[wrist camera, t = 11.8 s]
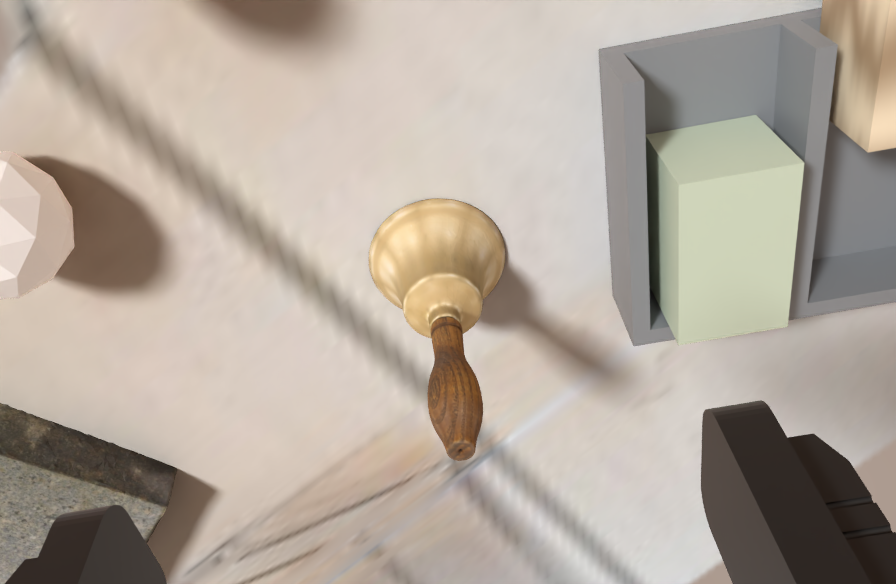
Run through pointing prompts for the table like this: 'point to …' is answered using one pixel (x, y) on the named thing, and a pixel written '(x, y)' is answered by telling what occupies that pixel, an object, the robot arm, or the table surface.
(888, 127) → the wooden handled block
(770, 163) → the sage block
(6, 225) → the geometric ball
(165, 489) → the stone block
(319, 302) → the table surface
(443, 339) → the hand bell
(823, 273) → the lane shelf
